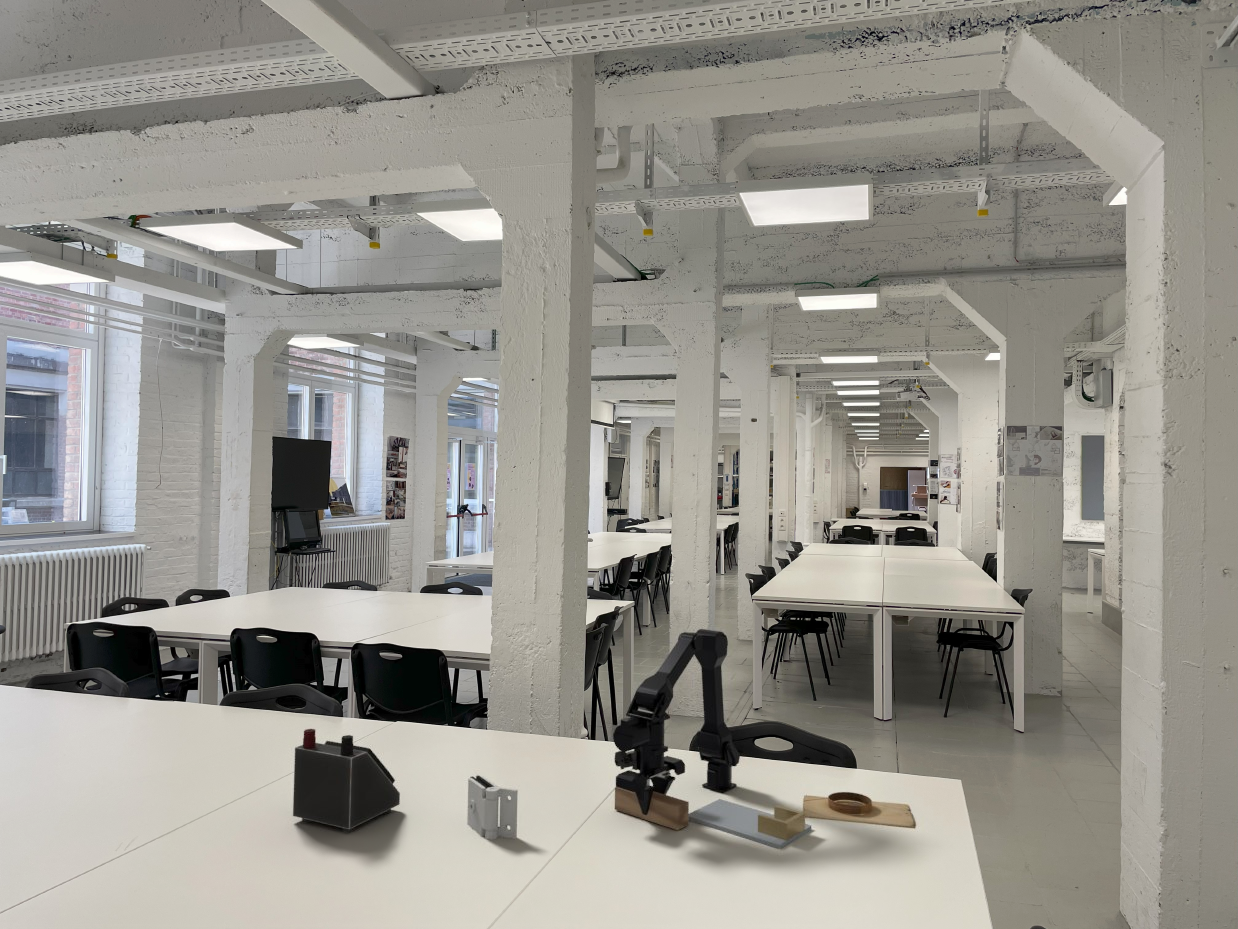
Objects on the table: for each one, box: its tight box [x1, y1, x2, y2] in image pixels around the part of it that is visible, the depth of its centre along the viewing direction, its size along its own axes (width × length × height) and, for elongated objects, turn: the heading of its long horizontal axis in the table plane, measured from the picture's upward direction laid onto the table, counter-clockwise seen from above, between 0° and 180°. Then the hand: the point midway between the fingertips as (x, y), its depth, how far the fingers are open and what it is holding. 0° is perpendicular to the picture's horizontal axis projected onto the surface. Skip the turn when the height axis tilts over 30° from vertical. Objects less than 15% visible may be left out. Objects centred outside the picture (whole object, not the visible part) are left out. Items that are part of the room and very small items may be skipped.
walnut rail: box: [614, 786, 690, 831], centre depth 188 cm, size 4×18×5 cm, turn 50°
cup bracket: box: [758, 805, 806, 841], centre depth 180 cm, size 8×7×4 cm
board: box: [802, 791, 916, 829], centre depth 195 cm, size 25×15×3 cm, turn 78°
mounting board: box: [688, 798, 812, 850], centre depth 186 cm, size 14×24×1 cm, turn 50°
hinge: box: [466, 774, 519, 840], centre depth 179 cm, size 14×5×10 cm, turn 46°
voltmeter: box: [292, 728, 401, 833], centre depth 187 cm, size 16×16×20 cm
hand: (650, 811), depth 188 cm, fingers closed on walnut rail, 4 cm apart
